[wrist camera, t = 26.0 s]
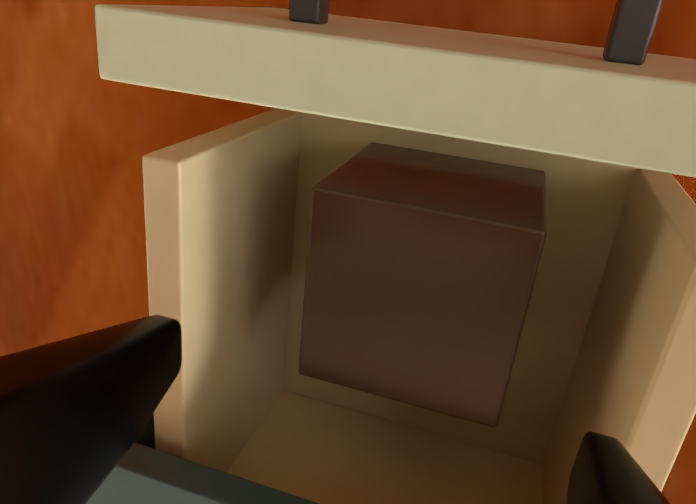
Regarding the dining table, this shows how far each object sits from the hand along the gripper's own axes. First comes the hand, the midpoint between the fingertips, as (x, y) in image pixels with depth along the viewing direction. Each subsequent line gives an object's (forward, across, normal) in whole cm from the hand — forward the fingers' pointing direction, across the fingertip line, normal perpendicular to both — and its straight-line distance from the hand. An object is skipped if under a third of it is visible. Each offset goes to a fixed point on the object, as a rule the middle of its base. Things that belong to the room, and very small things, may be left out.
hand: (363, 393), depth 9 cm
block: (+8, 0, 0) cm, 8 cm away
